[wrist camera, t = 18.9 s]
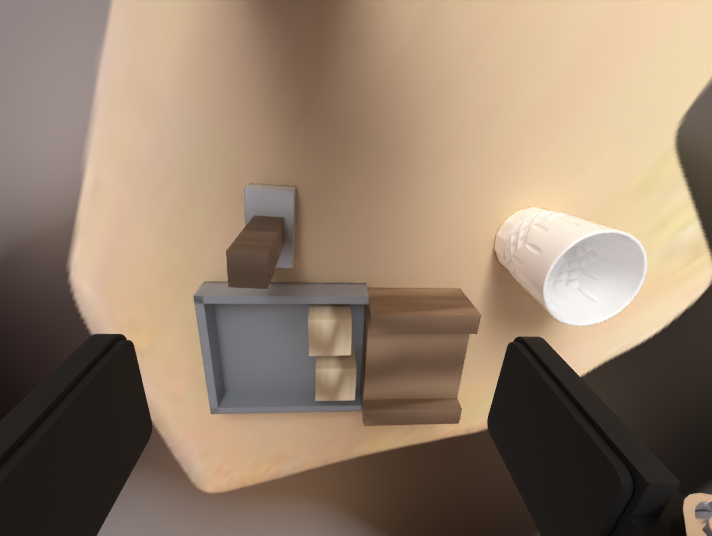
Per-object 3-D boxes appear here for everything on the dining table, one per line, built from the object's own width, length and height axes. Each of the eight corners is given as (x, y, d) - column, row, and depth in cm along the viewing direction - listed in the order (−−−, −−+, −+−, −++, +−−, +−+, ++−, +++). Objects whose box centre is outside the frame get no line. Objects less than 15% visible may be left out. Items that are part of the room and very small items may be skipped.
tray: (204, 281, 35) (193, 295, 32) (365, 283, 36) (368, 296, 33) (219, 393, 40) (211, 413, 37) (359, 391, 41) (361, 411, 39)
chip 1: (349, 298, 36) (310, 299, 36) (351, 319, 32) (308, 319, 32) (348, 332, 38) (311, 333, 37) (351, 355, 34) (309, 356, 34)
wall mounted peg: (250, 183, 32) (211, 214, 21) (295, 186, 32) (279, 219, 21) (252, 256, 34) (218, 317, 24) (294, 258, 35) (279, 319, 24)
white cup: (517, 187, 33) (588, 212, 24) (580, 220, 35) (670, 255, 26) (473, 258, 36) (523, 306, 27) (534, 286, 38) (601, 339, 29)
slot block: (365, 287, 36) (371, 314, 31) (460, 288, 37) (480, 315, 32) (359, 388, 41) (363, 425, 36) (443, 387, 42) (458, 423, 37)
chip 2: (353, 344, 38) (316, 344, 38) (356, 368, 35) (315, 368, 34) (352, 374, 40) (316, 374, 40) (354, 400, 36) (315, 400, 36)
